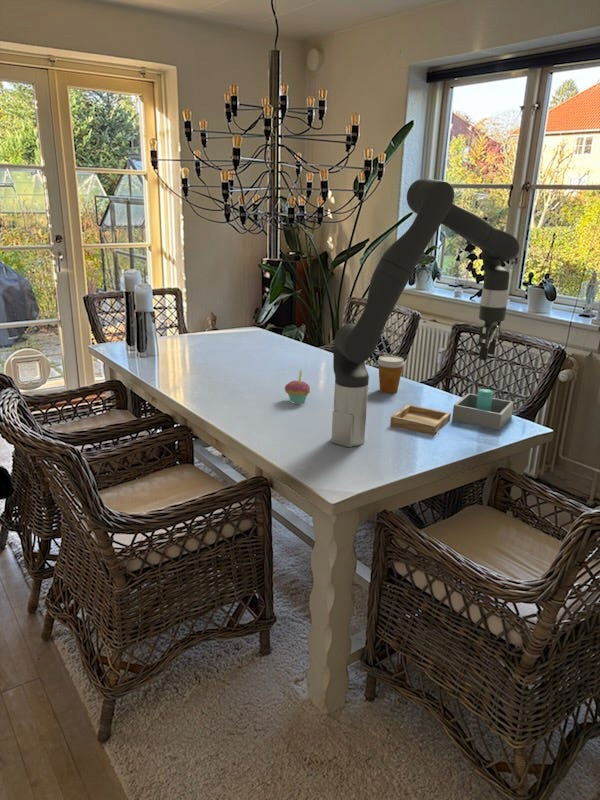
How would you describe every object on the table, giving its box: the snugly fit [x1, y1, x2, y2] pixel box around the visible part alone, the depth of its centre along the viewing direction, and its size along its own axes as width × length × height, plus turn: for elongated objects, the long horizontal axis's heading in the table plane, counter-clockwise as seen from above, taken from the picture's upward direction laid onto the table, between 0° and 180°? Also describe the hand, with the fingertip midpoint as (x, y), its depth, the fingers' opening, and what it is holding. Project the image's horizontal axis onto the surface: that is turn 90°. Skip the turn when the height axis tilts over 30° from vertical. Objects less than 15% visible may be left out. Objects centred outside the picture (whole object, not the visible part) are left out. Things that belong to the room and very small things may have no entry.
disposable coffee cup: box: [376, 355, 405, 394], centre depth 218 cm, size 10×10×12 cm
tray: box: [389, 404, 452, 437], centre depth 188 cm, size 14×14×3 cm
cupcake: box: [284, 370, 311, 404], centre depth 203 cm, size 9×8×12 cm
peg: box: [476, 388, 494, 411], centre depth 191 cm, size 4×4×9 cm
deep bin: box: [451, 392, 515, 431], centre depth 191 cm, size 15×15×6 cm
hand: (486, 356), depth 187 cm, fingers open, 8 cm apart
